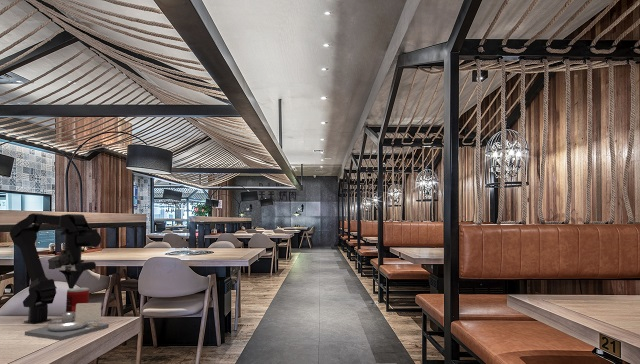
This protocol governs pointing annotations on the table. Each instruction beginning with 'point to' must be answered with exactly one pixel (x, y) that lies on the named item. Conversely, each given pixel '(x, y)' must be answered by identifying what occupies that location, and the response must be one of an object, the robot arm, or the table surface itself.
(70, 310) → the canned food
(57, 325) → the dial
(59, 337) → the panel
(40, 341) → the table surface
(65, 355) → the table surface
